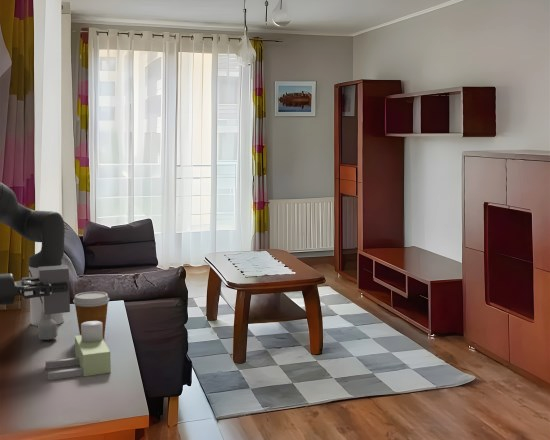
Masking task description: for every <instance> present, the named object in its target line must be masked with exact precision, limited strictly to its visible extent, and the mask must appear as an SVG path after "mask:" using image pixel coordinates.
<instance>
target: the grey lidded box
mask: <svg viewBox="0 0 550 440" xmlns="http://www.w3.org/2000/svg"><path fill="white" fill-rule="evenodd" d="M69 272H70V269H69V267H68V265H67V264H65V265H64V264H62V265H60V266H45V267H38V278H39V281H40V282H41V283H43V284H44V283H62V282H67V283H68V291H66V292H54V293H52V294H50V295H49V296H43V311H44V315H45V314H55V313H64V314H65V313H70V312H71V304H70V303H71V301H70V273H69ZM42 289H43V291H44V288H42Z"/></svg>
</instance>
